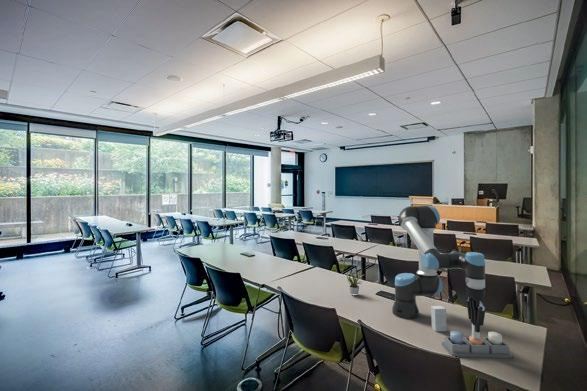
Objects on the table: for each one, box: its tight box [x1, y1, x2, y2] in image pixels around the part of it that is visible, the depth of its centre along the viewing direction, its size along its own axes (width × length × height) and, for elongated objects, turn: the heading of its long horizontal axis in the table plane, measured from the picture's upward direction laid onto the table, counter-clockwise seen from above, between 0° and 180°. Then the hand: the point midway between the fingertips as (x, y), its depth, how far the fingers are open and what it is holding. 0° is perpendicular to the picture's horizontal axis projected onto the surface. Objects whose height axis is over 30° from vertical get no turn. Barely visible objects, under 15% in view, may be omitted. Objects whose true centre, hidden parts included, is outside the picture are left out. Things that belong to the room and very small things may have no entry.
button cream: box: [487, 331, 503, 345], centre depth 130 cm, size 5×5×4 cm
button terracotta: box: [468, 334, 483, 345], centre depth 131 cm, size 5×5×4 cm
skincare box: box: [430, 305, 447, 333], centre depth 151 cm, size 6×4×12 cm
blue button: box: [449, 330, 464, 344], centre depth 132 cm, size 5×5×4 cm
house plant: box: [346, 272, 364, 295], centre depth 205 cm, size 14×14×16 cm
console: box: [441, 336, 514, 359], centre depth 131 cm, size 10×26×4 cm, turn 86°
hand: (475, 337), depth 131 cm, fingers closed
